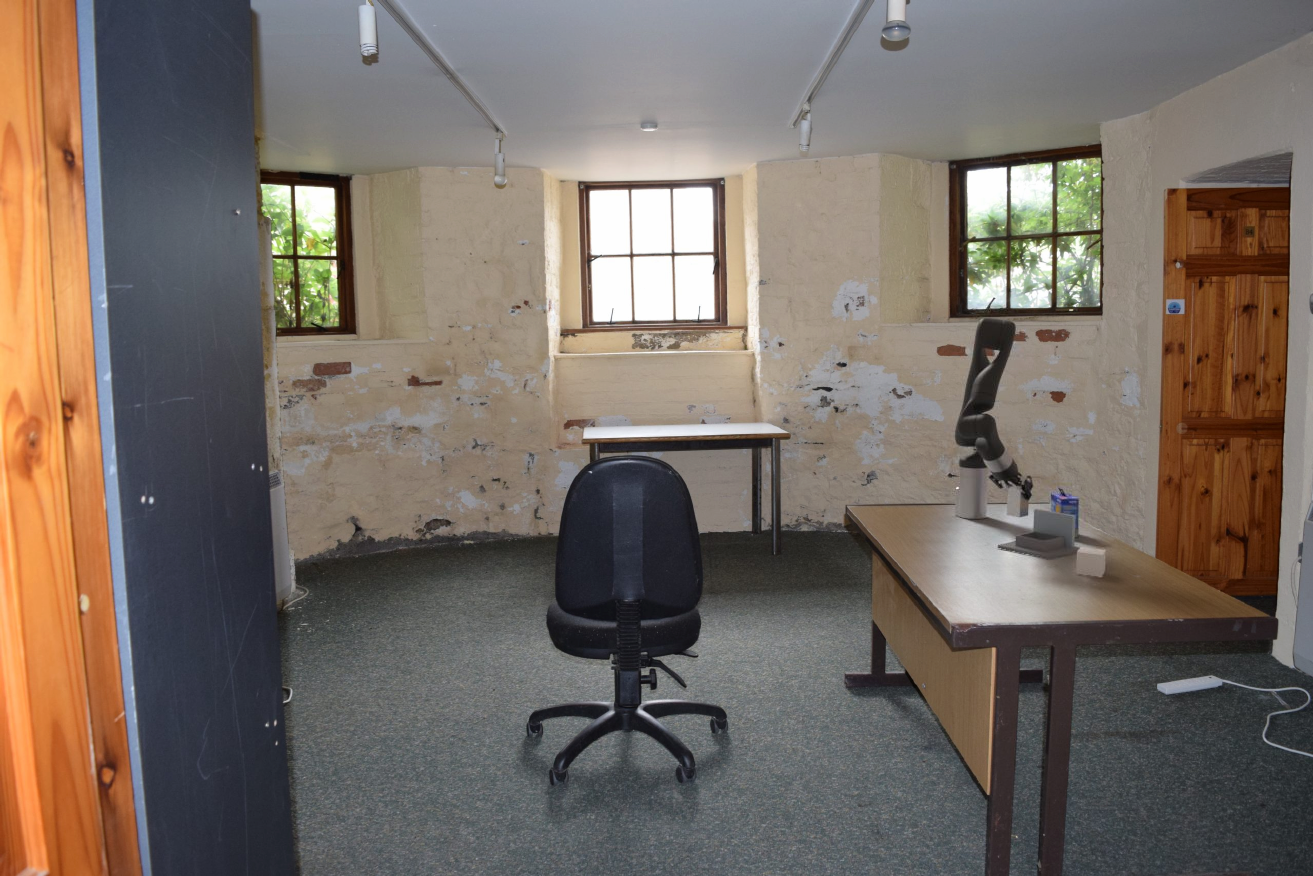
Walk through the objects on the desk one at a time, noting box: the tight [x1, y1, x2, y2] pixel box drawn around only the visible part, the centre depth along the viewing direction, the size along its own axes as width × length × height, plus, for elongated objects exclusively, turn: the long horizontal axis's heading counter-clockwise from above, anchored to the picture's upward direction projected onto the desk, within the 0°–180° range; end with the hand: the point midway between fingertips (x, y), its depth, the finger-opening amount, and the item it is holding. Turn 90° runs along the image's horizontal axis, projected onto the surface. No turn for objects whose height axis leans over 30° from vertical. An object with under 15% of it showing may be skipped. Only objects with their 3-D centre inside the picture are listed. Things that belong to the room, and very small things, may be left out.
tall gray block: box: [1006, 485, 1030, 518], centre depth 268 cm, size 4×4×10 cm
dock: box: [997, 508, 1081, 560], centre depth 249 cm, size 16×16×10 cm
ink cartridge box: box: [1050, 487, 1080, 538], centre depth 268 cm, size 10×6×14 cm, turn 174°
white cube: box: [1075, 546, 1107, 578], centre depth 225 cm, size 6×6×6 cm
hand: (1021, 496), depth 269 cm, fingers closed on tall gray block, 4 cm apart
